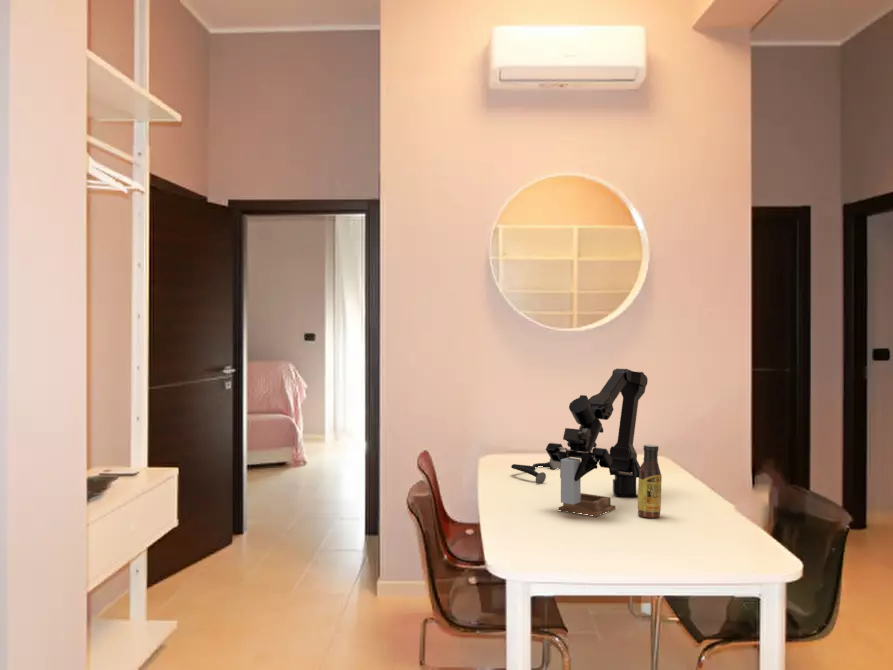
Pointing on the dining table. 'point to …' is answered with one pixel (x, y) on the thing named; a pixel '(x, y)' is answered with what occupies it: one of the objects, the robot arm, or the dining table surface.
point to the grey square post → (570, 481)
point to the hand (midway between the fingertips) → (568, 479)
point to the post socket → (589, 505)
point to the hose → (530, 470)
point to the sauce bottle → (649, 484)
